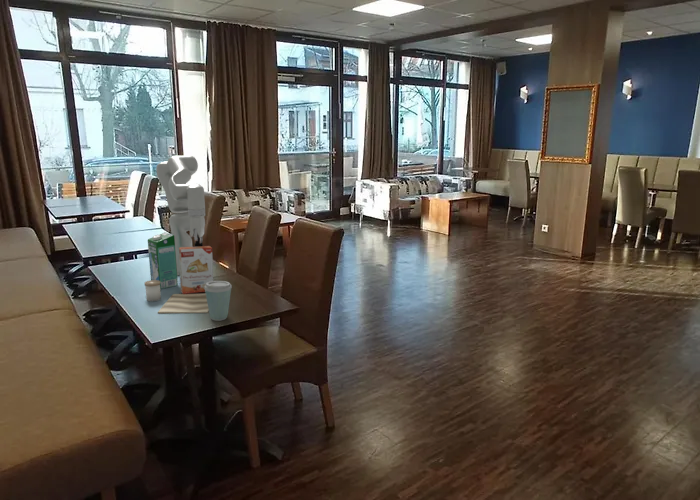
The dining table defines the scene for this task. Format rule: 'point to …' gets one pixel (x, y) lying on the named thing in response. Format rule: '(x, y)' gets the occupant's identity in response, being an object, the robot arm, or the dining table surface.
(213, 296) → the disposable coffee cup
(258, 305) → the dining table surface
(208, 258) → the cracker box
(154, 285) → the tan and white mushroom
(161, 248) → the milk carton
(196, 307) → the beech board
